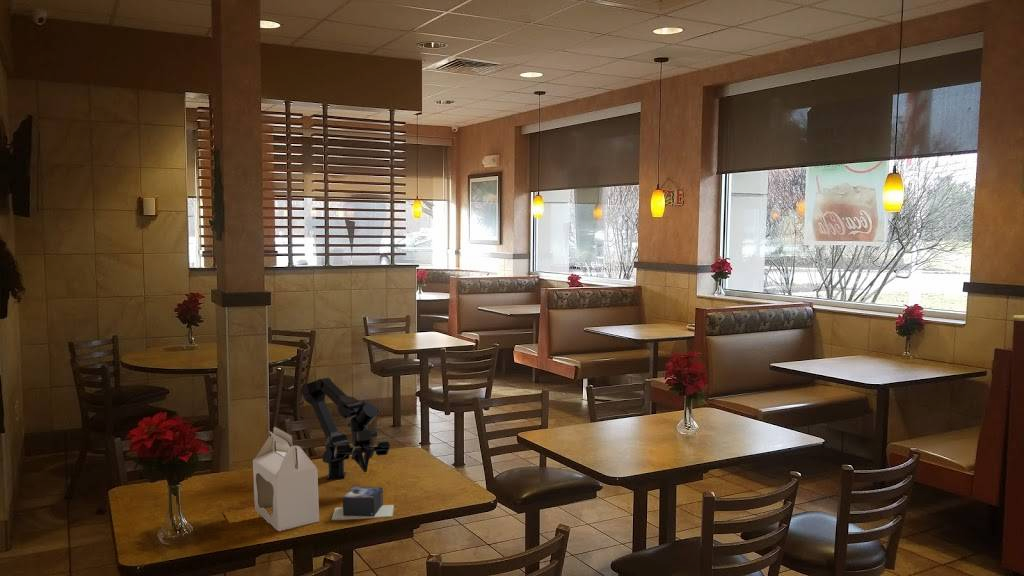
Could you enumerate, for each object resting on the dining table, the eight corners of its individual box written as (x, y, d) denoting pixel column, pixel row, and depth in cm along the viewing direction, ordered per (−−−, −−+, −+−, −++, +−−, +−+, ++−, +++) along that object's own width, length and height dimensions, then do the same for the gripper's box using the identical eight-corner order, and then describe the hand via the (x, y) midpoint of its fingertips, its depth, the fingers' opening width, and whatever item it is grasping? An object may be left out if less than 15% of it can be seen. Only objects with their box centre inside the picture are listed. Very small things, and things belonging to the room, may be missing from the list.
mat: (335, 509, 250) (335, 507, 250) (393, 505, 252) (393, 504, 252) (331, 520, 240) (331, 519, 240) (392, 517, 242) (392, 515, 242)
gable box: (254, 511, 249) (251, 427, 247) (293, 502, 257) (290, 421, 255) (278, 532, 231) (275, 442, 229) (319, 521, 239) (316, 434, 237)
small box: (382, 485, 251) (374, 497, 241) (383, 504, 252) (375, 517, 242) (351, 485, 252) (342, 496, 242) (352, 504, 253) (342, 516, 242)
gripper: (336, 421, 261) (341, 462, 252) (389, 418, 268) (396, 458, 259) (331, 438, 269) (336, 478, 259) (383, 434, 276) (390, 473, 267)
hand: (365, 471), depth 261 cm, fingers closed
